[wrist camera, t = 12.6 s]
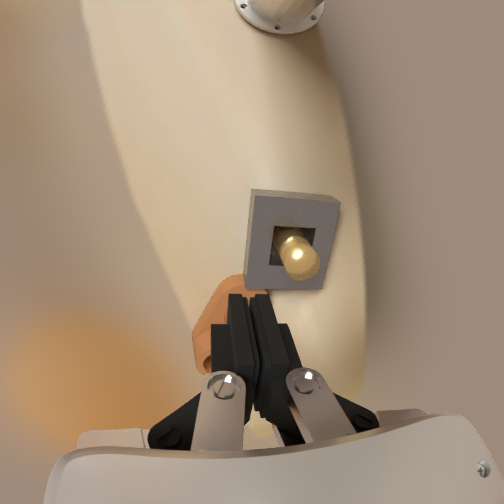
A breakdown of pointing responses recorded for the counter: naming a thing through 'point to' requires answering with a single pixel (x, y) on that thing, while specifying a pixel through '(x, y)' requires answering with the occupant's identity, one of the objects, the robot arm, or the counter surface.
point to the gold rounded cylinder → (296, 253)
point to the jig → (291, 215)
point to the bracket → (216, 318)
